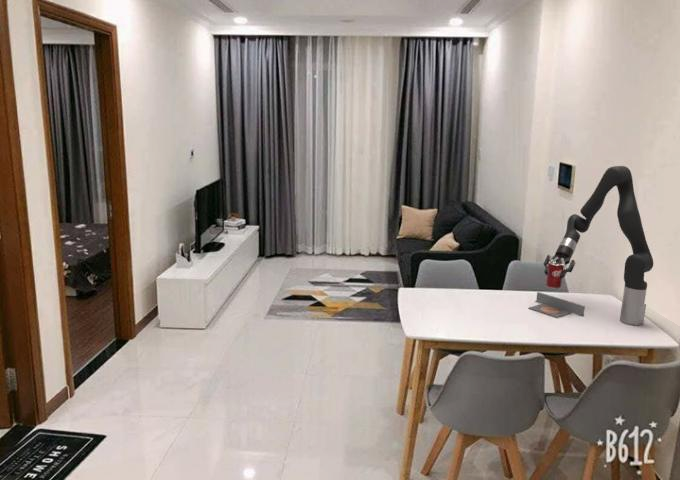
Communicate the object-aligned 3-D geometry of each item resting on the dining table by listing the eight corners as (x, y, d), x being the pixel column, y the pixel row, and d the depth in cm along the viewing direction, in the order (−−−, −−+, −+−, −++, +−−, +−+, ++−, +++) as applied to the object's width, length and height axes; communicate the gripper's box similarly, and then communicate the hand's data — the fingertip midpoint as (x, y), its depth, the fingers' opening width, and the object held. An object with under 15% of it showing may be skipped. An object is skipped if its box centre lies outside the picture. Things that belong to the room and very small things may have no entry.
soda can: (542, 285, 275) (544, 262, 273) (553, 284, 278) (556, 261, 276) (553, 289, 269) (555, 265, 266) (564, 288, 272) (567, 264, 269)
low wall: (583, 315, 270) (584, 306, 269) (582, 316, 269) (583, 306, 268) (537, 301, 290) (538, 292, 289) (536, 301, 290) (537, 292, 289)
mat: (571, 313, 272) (571, 312, 272) (556, 318, 265) (557, 316, 265) (542, 304, 285) (543, 303, 285) (528, 308, 278) (528, 307, 278)
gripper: (550, 242, 279) (537, 268, 274) (578, 247, 269) (566, 274, 264) (554, 250, 284) (541, 276, 279) (582, 256, 274) (569, 283, 269)
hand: (553, 275), depth 271 cm, fingers closed on soda can, 7 cm apart
